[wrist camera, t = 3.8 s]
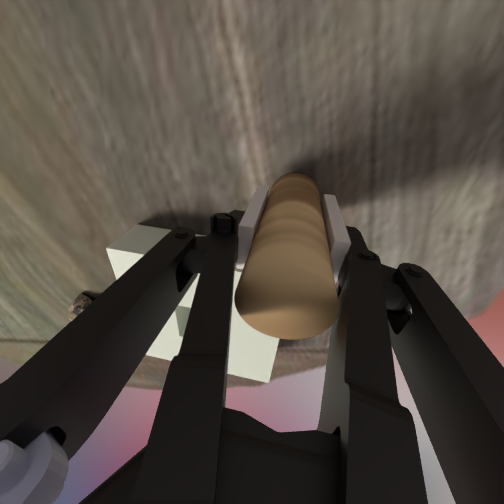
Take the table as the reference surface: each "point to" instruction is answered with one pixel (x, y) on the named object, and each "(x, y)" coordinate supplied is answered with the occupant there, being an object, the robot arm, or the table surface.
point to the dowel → (289, 265)
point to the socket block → (170, 338)
